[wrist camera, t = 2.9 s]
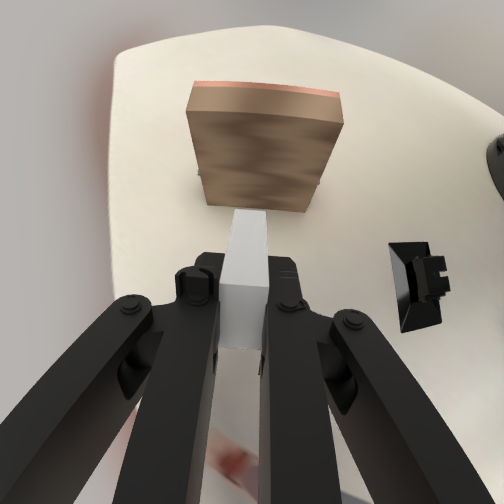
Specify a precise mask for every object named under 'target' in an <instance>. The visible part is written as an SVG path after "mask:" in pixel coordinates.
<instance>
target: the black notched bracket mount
mask: <svg viewBox="0 0 504 504" xmlns="http://www.w3.org/2000/svg"><path fill="white" fill-rule="evenodd" d="M388 245H389V250H390V256H391V262H392V268H393V274H394V281H395V288H396V295H397V303H398V312H399V321H400V331H401V333H405V332H410V331H414V330H418V329H422V328H426V327H429V326H433V325H437V324H441V323H442V318H441V311H440V304H439V300H440V297H443V296H446V294H445V293H447V292H450V291H451V290H450V284H449V279H448V276H445V277H440V273H439V272H445V271H447V268H446V263H445V258H444V256H431V254H430V250H429V245H428V242H398V243H389V244H388Z"/></svg>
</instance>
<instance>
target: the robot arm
mask: <svg viewBox="0 0 504 504" xmlns="http://www.w3.org/2000/svg"><path fill="white" fill-rule="evenodd" d="M487 160H488V165H489V169H490V172H491V175H492V177H493V180H494V182H495V184H496V186H497V188H498V190H499V192H500V194H501V195H502V197H503V199H504V134H502V135H499V136H498V137H496V138H495V139H494V140H493V141H492V142H491V143H490V145H489V146H488V149H487ZM175 283H176V296H177V298H176V300H175V302H172V303H169V304H164V305H156V306H152V305H151V302H150V300H149V299H148V298H146V297H144V296H142V295H136V294H133V295H126V296H123V297H120V298H119V299H117V300H116V301H114V302H113V303H112V304H111V305H110V306H109V307H108V308H107V309H106V310H105V311H104V312H103V313H102V314H101V315H100V316H99V317H98V318H97V319H96V320H95V321H94V322H93V323H92V324H91V325H90V326H89V327H88V328H87V329H86V330H85V331H84V333H82V334H81V335H80V337H79V338H78V339H77V340H76V341H75V342H74V343H73V344H72V345H71V346H70V347H69V348H68V349H67V350H66V351H65V352H64V353H63V354H62V355H61V356H60V358H59V359H58V360H57V361H56V362H55V363H54V364H53V365H52V366H51V367H50V368H49V369H48V371H47V372H46V373H45V374H44V375H43V376H42V377H41V378H40V379H39V380H38V381H37V383H36V384H35V385H34V386H33V387H32V388H31V389H30V390H29V392H28V393H27V394H26V395H25V396H24V397H23V398H22V400H21V401H20V402H19V403H18V404H17V405H16V406H15V408H14V409H13V410H12V411H11V412H10V414H9V415H8V416H7V417H6V418H5V420H4V421H3V422H2V423H1V424H0V504H73V503H74V501H75V500H76V498H77V497H78V495H79V493H80V492H81V490H82V489H83V487H84V485H85V484H86V482H87V481H88V479H89V477H90V476H91V475H92V473H93V471H94V470H95V468H96V466H97V465H98V463H99V462H100V460H101V459H102V457H103V456H104V454H105V453H106V451H107V450H108V448H109V446H110V445H111V443H112V442H113V440H114V439H115V437H116V436H117V434H118V432H119V431H120V429H121V428H122V426H123V425H124V423H125V421H126V420H127V419H128V417H129V416H130V414H131V412H132V411H133V409H134V408H135V406H136V405H137V403H138V402H139V400H140V399H141V397H142V399H141V402H140V406H139V409H138V412H137V415H136V419H135V422H134V425H133V429H132V432H131V436H130V439H129V442H128V446H127V449H126V453H125V457H124V460H123V464H122V468H121V471H120V475H119V479H118V482H117V487H116V490H115V494H114V498H113V502H112V504H199V503H200V494H201V486H202V477H203V469H204V460H205V452H206V444H207V436H208V428H209V421H210V413H211V405H212V398H213V390H214V383H215V376H216V368H217V361H218V344H219V347H224V348H236V349H251V350H261V347H262V352H261V359H260V366H259V374H258V375H260V427H259V488H258V504H342V500H341V492H340V484H339V476H338V469H337V462H336V455H335V448H334V441H333V434H332V428H331V422H330V415H329V409H328V405H329V408H330V410H331V412H332V414H333V416H334V418H335V420H336V422H337V425H338V427H339V429H340V431H341V433H342V435H343V437H344V439H345V442H346V444H347V446H348V448H349V450H350V452H351V454H352V457H353V459H354V461H355V463H356V465H357V467H358V469H359V471H360V474H361V476H362V478H363V480H364V482H365V484H366V486H367V489H368V491H369V493H370V495H371V497H372V499H373V501H374V504H495V502H494V500H493V499H492V497H491V495H490V493H489V492H488V490H487V488H486V486H485V485H484V483H483V481H482V480H481V478H480V476H479V475H478V473H477V471H476V470H475V468H474V467H473V465H472V463H471V462H470V460H469V458H468V457H467V455H466V454H465V452H464V451H463V449H462V447H461V446H460V444H459V443H458V441H457V440H456V438H455V437H454V435H453V433H452V432H451V430H450V429H449V427H448V426H447V424H446V423H445V421H444V420H443V418H442V417H441V415H440V414H439V412H438V411H437V409H436V408H435V407H434V405H433V404H432V402H431V401H430V399H429V398H428V396H427V395H426V393H425V392H424V391H423V389H422V388H421V386H420V385H419V383H418V382H417V381H416V379H415V378H414V376H413V375H412V374H411V372H410V371H409V369H408V368H407V367H406V365H405V364H404V363H403V361H402V360H401V358H400V357H399V356H398V354H397V353H396V352H395V350H394V349H393V348H392V346H391V345H390V343H389V342H388V341H387V339H386V338H385V337H384V335H383V334H382V333H381V331H380V330H379V329H378V328H377V326H376V325H375V324H374V322H373V321H372V320H371V319H370V318H369V317H368V316H367V315H366V314H364V313H362V312H360V311H357V310H353V309H344V310H340V311H338V312H337V313H336V314H335V315H334V318H330V317H326V316H323V315H320V314H317V313H315V312H313V311H311V310H310V307H309V305H308V303H307V302H306V301H305V300H304V299H303V298H302V293H301V288H300V283H299V279H298V273H297V267H296V264H295V263H294V262H293V260H292V259H291V258H290V257H278V256H268V250H267V230H266V211H256V210H243V209H235V211H234V216H233V220H232V225H231V230H230V234H229V239H228V244H227V248H226V253H225V254H224V253H211V252H203V253H202V254H201V255H200V256H198V257H197V259H196V262H195V264H194V266H190V267H185V268H183V269H181V270H179V271H178V272H177V273H176V274H175Z"/></svg>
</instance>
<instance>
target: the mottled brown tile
mask: <svg viewBox="0 0 504 504" xmlns="http://www.w3.org/2000/svg"><path fill="white" fill-rule="evenodd" d="M186 115H187V119H188V124H189V128H190V133H191V137H192V142H193V146H194V150H195V155H196V159H197V163H198V168H199V172H200V176H201V180H202V185H203V189H204V193H205V197H206V201H207V205H215V206H231V207H245V208H258V209H271V210H283V211H295V212H306V210H307V208H308V205H309V203H310V201H311V199H312V196H313V194H314V192H315V190H316V187H317V185H318V183H319V181H320V178H321V176H322V174H323V171H324V169H325V167H326V164H327V162H328V160H329V157H330V155H331V153H332V150H333V148H334V146H335V143H336V141H337V139H338V136H339V134H340V132H341V129H342V127H343V124H344V121H343V114H342V107H341V101H340V94H339V93H338V92H332V91H326V90H319V89H312V88H305V87H297V86H288V85H278V84H266V83H252V82H231V81H194V84H193V87H192V91H191V94H190V97H189V101H188V104H187V108H186Z"/></svg>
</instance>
